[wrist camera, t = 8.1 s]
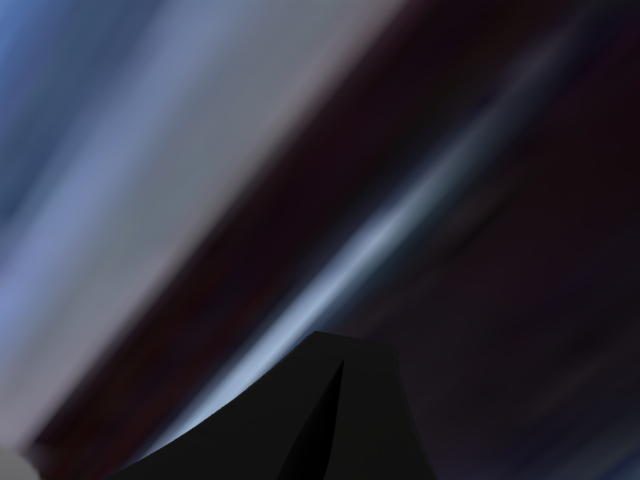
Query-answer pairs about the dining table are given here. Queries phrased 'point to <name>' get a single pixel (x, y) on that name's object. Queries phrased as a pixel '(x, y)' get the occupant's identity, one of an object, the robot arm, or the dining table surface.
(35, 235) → the dining table surface
